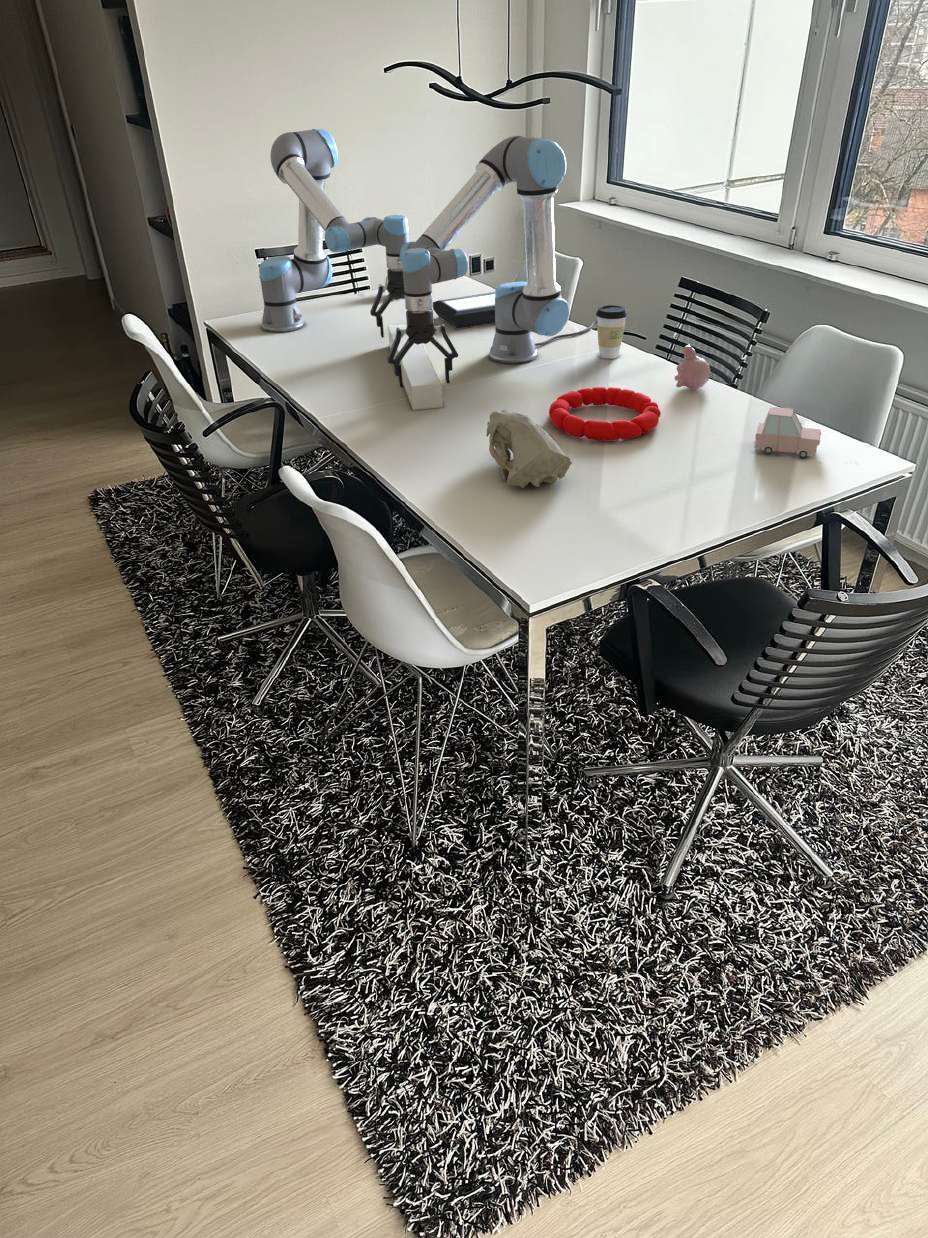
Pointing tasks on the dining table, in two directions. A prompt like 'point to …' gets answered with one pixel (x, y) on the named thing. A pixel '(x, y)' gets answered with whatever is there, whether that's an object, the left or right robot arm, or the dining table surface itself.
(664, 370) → the dining table surface
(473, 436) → the dining table surface
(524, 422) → the animal skull
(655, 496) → the dining table surface
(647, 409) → the decorative ring
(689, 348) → the figurine
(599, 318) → the coffee cup
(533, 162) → the right robot arm
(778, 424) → the toy car
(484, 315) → the electronic device
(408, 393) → the wide beam
